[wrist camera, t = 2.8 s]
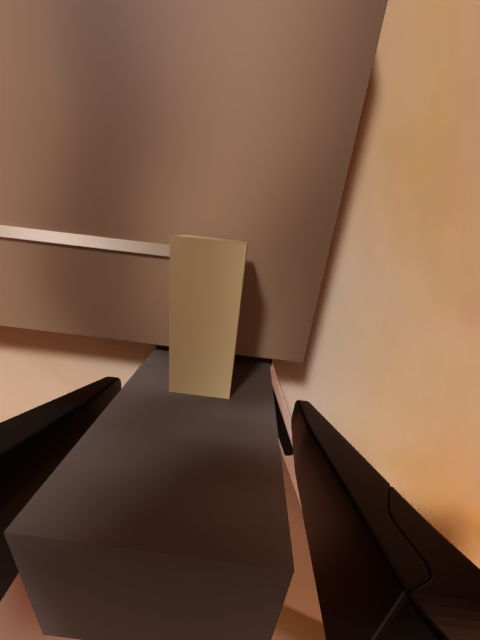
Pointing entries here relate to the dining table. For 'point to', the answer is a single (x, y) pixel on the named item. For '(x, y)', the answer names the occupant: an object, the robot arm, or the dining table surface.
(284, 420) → the pen
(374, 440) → the dining table surface
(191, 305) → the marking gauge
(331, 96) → the gray rectangular board
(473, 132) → the dining table surface
